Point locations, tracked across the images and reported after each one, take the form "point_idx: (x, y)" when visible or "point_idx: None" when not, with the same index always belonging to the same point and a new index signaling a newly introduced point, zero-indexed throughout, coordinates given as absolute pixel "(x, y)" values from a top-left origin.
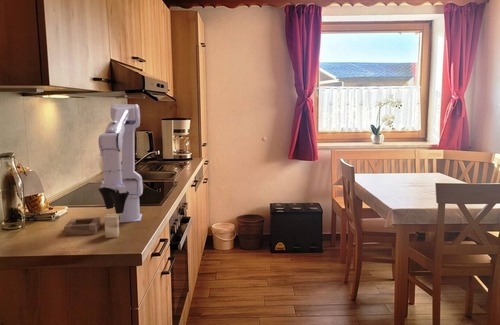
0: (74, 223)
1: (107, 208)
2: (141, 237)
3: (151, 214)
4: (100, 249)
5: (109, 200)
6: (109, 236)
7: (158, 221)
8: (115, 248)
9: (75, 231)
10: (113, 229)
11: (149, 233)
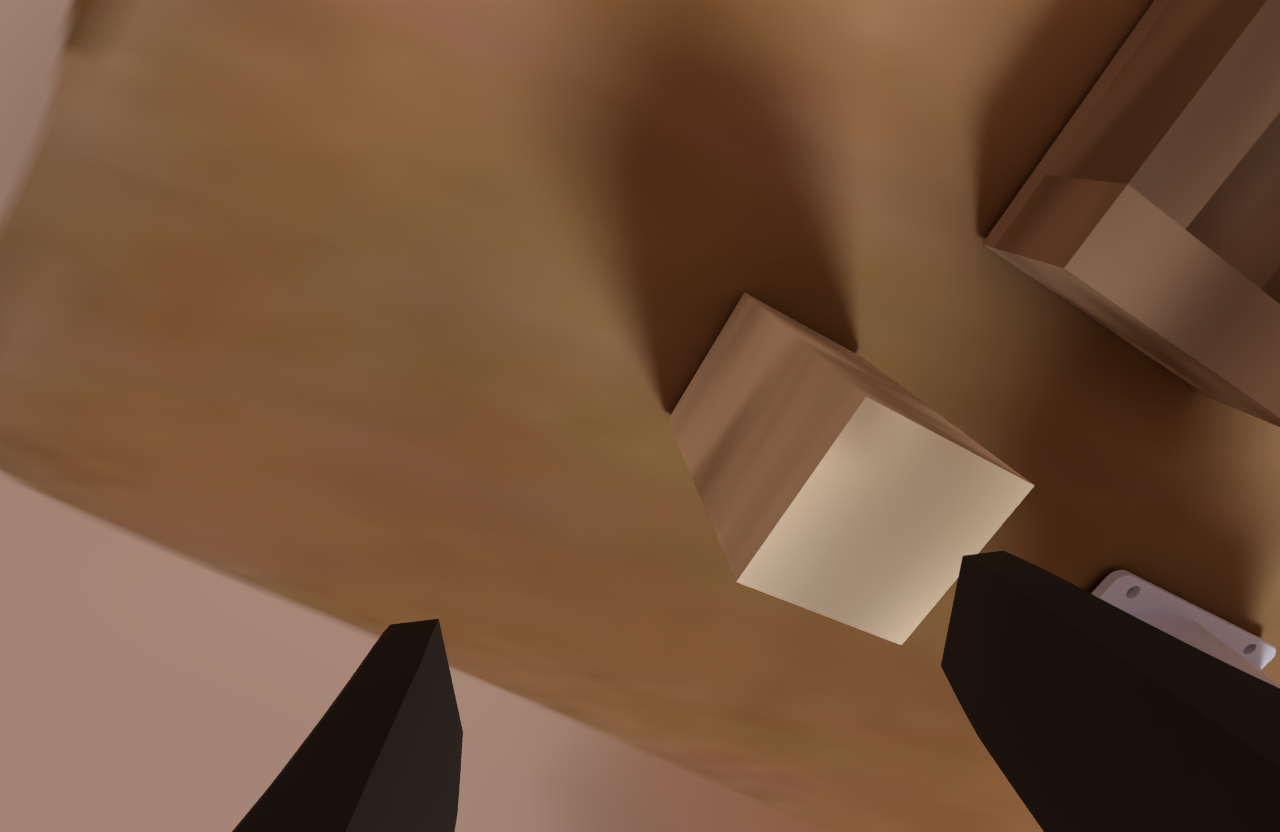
0: None
1: (972, 570)
2: (498, 606)
3: None
4: (324, 67)
5: (1114, 789)
6: (720, 339)
7: (850, 825)
8: (258, 257)
9: None
10: (714, 422)
11: (574, 693)
